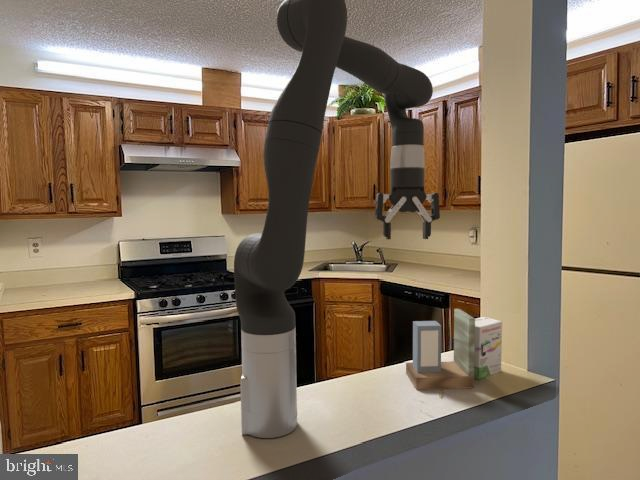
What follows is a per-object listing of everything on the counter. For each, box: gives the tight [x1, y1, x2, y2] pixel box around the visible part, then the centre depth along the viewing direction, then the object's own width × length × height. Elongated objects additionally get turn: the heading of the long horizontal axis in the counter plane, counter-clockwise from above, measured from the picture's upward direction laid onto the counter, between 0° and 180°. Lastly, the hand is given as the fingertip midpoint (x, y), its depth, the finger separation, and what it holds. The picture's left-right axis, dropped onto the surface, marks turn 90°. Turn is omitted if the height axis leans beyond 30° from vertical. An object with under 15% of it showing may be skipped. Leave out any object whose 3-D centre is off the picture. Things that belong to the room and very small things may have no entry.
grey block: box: [412, 320, 442, 373], centre depth 99 cm, size 5×4×10 cm
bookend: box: [405, 308, 476, 391], centre depth 99 cm, size 12×9×14 cm
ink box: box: [474, 316, 503, 380], centre depth 104 cm, size 8×5×12 cm, turn 126°
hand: (406, 239), depth 105 cm, fingers open, 8 cm apart
